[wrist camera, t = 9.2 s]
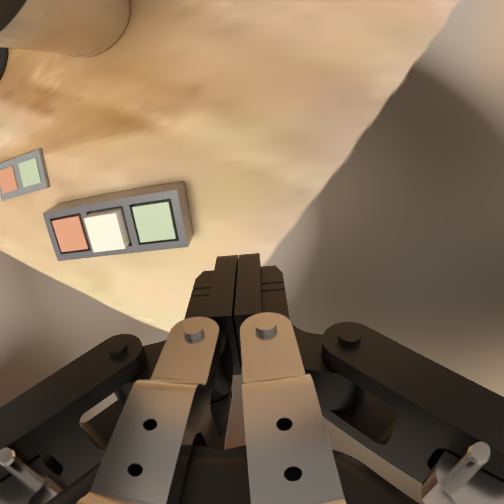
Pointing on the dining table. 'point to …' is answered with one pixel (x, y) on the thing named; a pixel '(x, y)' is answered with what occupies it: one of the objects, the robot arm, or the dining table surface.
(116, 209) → the key cream
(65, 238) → the key terracotta
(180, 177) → the dining table surface
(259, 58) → the dining table surface
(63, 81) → the dining table surface
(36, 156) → the tile
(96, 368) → the robot arm
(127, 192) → the keypad
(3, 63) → the mug
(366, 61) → the dining table surface
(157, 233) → the key sage
